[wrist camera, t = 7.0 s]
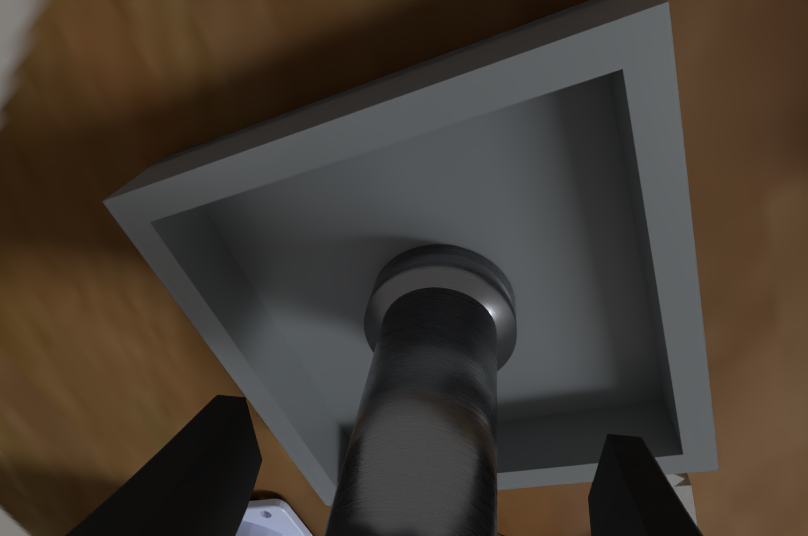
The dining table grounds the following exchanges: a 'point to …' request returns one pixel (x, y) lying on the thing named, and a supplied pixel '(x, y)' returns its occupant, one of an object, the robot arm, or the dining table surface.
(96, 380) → the dining table surface
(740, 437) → the dining table surface
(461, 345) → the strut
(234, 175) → the tray
